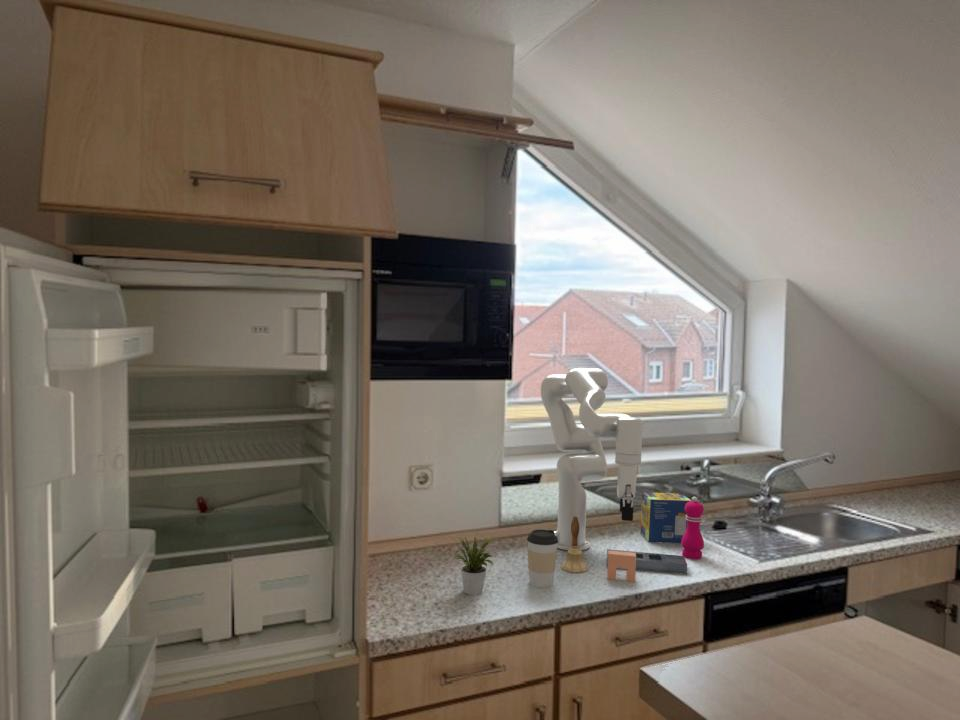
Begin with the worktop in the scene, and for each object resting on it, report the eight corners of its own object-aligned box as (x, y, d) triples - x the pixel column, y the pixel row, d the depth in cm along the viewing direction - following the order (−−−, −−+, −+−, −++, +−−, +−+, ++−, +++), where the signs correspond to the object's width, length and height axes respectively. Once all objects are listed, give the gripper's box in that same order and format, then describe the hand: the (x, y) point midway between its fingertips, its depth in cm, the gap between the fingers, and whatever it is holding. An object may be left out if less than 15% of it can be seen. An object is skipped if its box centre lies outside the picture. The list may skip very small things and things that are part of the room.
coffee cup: (534, 590, 183) (536, 537, 182) (520, 579, 191) (521, 528, 190) (562, 586, 186) (564, 534, 186) (547, 575, 195) (548, 525, 194)
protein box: (639, 533, 241) (641, 492, 240) (680, 534, 241) (682, 493, 241) (647, 542, 230) (649, 499, 230) (691, 543, 231) (693, 500, 230)
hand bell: (563, 573, 197) (565, 520, 197) (558, 563, 206) (560, 513, 205) (590, 573, 198) (592, 521, 197) (584, 563, 206) (586, 513, 206)
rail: (607, 566, 204) (607, 557, 204) (606, 558, 212) (607, 549, 212) (686, 574, 200) (687, 564, 200) (683, 565, 207) (683, 556, 207)
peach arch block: (607, 578, 193) (608, 553, 193) (607, 575, 197) (608, 550, 196) (635, 581, 192) (636, 556, 192) (634, 577, 195) (635, 552, 195)
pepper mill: (704, 560, 212) (707, 500, 212) (681, 558, 214) (684, 498, 213) (702, 553, 219) (704, 495, 219) (679, 551, 221) (682, 493, 220)
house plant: (441, 601, 173) (443, 540, 173) (444, 581, 187) (445, 525, 186) (495, 602, 173) (497, 542, 173) (493, 583, 187) (495, 526, 187)
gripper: (614, 453, 203) (612, 508, 203) (616, 463, 186) (614, 522, 186) (638, 454, 201) (636, 509, 202) (643, 464, 184) (641, 524, 185)
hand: (626, 516), depth 194 cm, fingers open, 9 cm apart
